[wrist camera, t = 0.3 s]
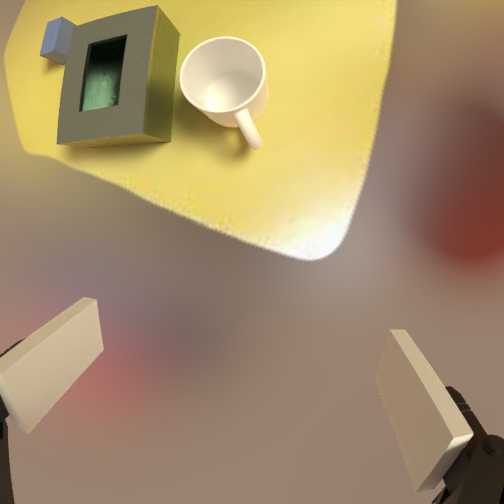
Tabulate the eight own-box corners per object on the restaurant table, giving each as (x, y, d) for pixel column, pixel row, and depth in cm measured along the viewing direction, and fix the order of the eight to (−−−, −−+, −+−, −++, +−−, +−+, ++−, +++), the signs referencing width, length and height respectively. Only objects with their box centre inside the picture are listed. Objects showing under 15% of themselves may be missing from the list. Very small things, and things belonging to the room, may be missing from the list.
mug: (291, 140, 36) (295, 127, 26) (229, 165, 38) (211, 162, 28) (253, 59, 34) (245, 24, 24) (194, 84, 35) (167, 58, 25)
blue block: (68, 33, 34) (47, 22, 28) (82, 29, 34) (62, 16, 28) (62, 64, 35) (39, 55, 30) (76, 60, 35) (53, 50, 29)
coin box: (105, 47, 34) (73, 27, 26) (179, 33, 34) (157, 5, 25) (94, 147, 38) (56, 144, 30) (170, 141, 37) (142, 133, 29)
